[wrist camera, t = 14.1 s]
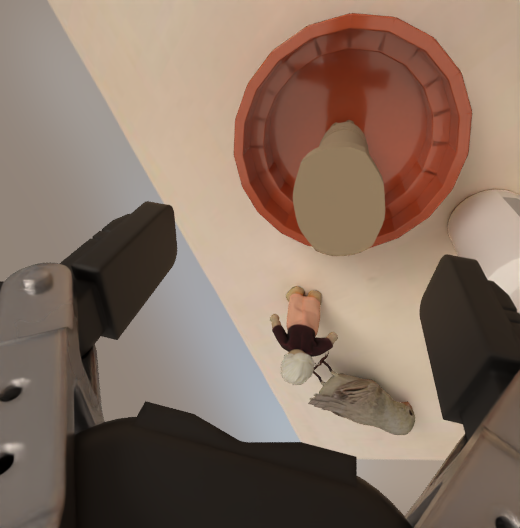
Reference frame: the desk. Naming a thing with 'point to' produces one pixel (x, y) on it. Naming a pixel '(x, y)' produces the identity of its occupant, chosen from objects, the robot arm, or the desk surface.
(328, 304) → the desk surface
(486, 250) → the spray bottle
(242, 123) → the bowl
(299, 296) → the grandmother figurine
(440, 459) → the desk surface
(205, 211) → the desk surface
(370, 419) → the decorative bird
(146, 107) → the desk surface
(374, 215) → the handle
